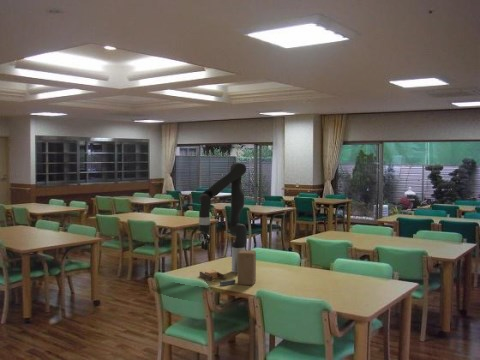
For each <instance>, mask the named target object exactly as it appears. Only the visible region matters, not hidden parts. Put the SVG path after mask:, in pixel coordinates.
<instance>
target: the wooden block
mask: <svg viewBox="0 0 480 360" xmlns="http://www.w3.org/2000/svg"><path fill="white" fill-rule="evenodd" d="M256 255H257V252H256V250H246V249H245V250H241V251H240V252H239V253H238V273H237V284H238V285H241V286H254V284H255V283H256V281H257V276H256V275H257V271H256V270H257V268H256V266H257V259H256V258H257V256H256Z"/></svg>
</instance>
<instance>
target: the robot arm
mask: <svg viewBox="0 0 480 360" xmlns="http://www.w3.org/2000/svg"><path fill="white" fill-rule="evenodd" d="M229 170H230V172H228V173H227V174H225V176H223V177H221V178H220V179H218V180H217V181H216V182H214V183H213V184H212V185H211V186H210V187H209V188H208V189H206V190H204V191H203V192H202V193H201V194H200V195H199V196H198V199H197V201H198V203H199V204H200V208H199V211H198V231H199V233H198V239H199V243H200V244H201V247H200V248H201V249H202V250H204V251H207V250H208V249H209V248H208V245H209V244H210V242H211V235H209V232H210V231H211V217H210V215H211V213H210V211H211V209H210V208H211V203H212V201H211V200H212V199H213V198H214V197H216V196H218V195H220V193H221V192H223V190H224V189H226V188H227V187H228V186H230V185H231V186H230V222H229V233H230V235H231V236H232V237H235V241H233V242H232V243H231V273H235V274H238V253H239V252H240V251H241V250H246V244H247V238H248V237H247V235H248V234H247V233H248V231H247V226H246V225H245V224H243V223H240V216H241V213H242V211H243V208H244V207H245V192H244V188H243V184H242V178H243V177H242V176H244V174H245V173H247V166H246V164H245V163H243V162H234V163H232V164H231V166H230V169H229Z"/></svg>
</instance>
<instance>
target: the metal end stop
mask: <svg viewBox="0 0 480 360" xmlns="http://www.w3.org/2000/svg"><path fill="white" fill-rule="evenodd" d="M235 284H236V279H228V280H221V281H219V286H220V287H224V286H232V285H235Z"/></svg>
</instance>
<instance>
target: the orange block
mask: <svg viewBox="0 0 480 360" xmlns="http://www.w3.org/2000/svg"><path fill="white" fill-rule="evenodd" d="M211 270H212V271H211ZM211 270H207V271H206V270H205V271H204V273H206V274H208V275H210V276H212V280H213V279H217V278H218V277H217V272H218V271H216V270H214V271H213V269H211Z"/></svg>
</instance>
